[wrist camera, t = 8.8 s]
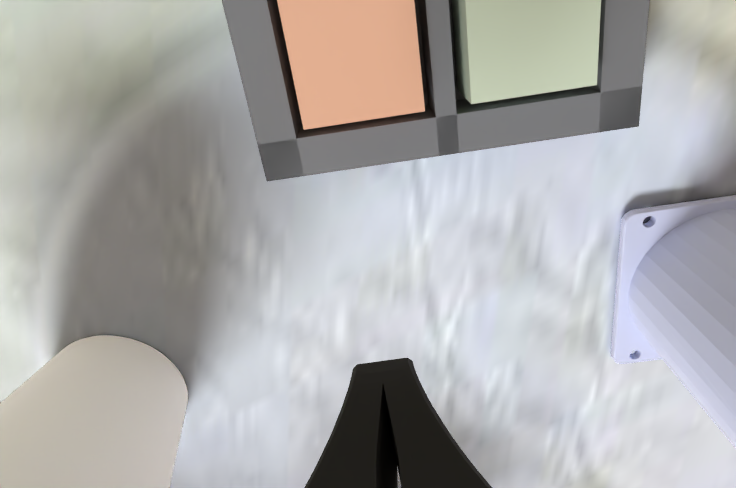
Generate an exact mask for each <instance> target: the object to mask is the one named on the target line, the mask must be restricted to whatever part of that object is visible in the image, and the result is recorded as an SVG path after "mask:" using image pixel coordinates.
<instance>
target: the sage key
mask: <svg viewBox="0 0 736 488" xmlns="http://www.w3.org/2000/svg"><path fill="white" fill-rule="evenodd" d="M452 10H453V25H454V40H455V54H456V69H457V84H458V91H459V92H460V93H461V94H462V95H463V96H464V97H465V98H466V99H467V100H468V101H469V102H470V103H471V104H476V103H483V102H489V101H496V100H502V99H509V98H515V97H522V96H528V95H535V94H542V93H548V92H555V91H561V90H568V89H574V88H581V87H587V86H594V85H597V73H598V53H599V33H600V12H601V0H452Z"/></svg>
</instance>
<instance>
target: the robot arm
mask: <svg viewBox="0 0 736 488" xmlns="http://www.w3.org/2000/svg"><path fill="white" fill-rule="evenodd" d="M648 216H651V218H650V220H649V221H648V222H647V223H645V224H643V221H644V219H645V218H646V217H648ZM633 351H636V352H635V353H633V354H630V353H632V352H633ZM611 357H612V358H613V359H614V361H615V362H616V363H619V364H627V363H635V362H643V361H650V360H658V359H663V360H664V362H665V363H666V364H667V365H668V367H669V368H670V369H671V370H672V371H673V373H674V374H675V375H676V376H677V378H678V379H679V380H680V381H681V382H682V384H683V385H684V386H685V387H686V389H687V390H688V391H689V392H690V393H691V395H692V396H693V397H694V398H695V400H696V401H697V402H698V403H699V404H700V406H701V407H702V408H703V409H704V411H705V412H706V413H707V414H708V415H709V417H710V418H711V419H712V420H713V422H714V423H715V424H716V425H717V426H718V428H719V429H720V430H721V431H722V433H723V434H724V435H725V436H726V437H727V439H728V440H729V441H730V442H731V444H732V445H733V446H734V447H735V448H736V195H733V196H725V197H718V198H711V199H704V200H697V201H690V202H683V203H675V204H668V205H661V206H654V207H647V208H640V209H633V210H630V211H628V212H627V213H625V215H624V216H623V217H622V220H621V228H620V240H619V253H618V266H617V279H616V291H615V304H614V317H613V330H612V342H611ZM397 466H398V471H399V476H400V481H401V488H492V487H491V486H490V485H489V484H488V482H487V481H486V480H485V479H484V478H483V476H482V475H481V474H480V473H479V472H478V470H477V469H476V468H475V467H474V466H473V464H472V463H471V462H470V460H469V459H468V458H467V457H466V455H465V454H464V453H463V451H462V450H461V449H460V447H459V446H458V444H457V443H456V442H455V440H454V439H453V437H452V436H451V434H450V433H449V431H448V430H447V428H446V427H445V425H444V424H443V422H442V421H441V419H440V417H439V416H438V414H437V413H436V411H435V409H434V408H433V406H432V404H431V403H430V401H429V399H428V397H427V395H426V393H425V391H424V389H423V387H422V385H421V383H420V381H419V379H418V376H417V374H416V371H415V369H414V365H413V361H412V360H410V359H409V358H402V359H394V360H387V361H380V362H372V363H365V364H358V365H356V366H355V367H354V369H353V372H352V377H351V381H350V384H349V388H348V391H347V394H346V397H345V400H344V403H343V406H342V409H341V411H340V414H339V416H338V419H337V421H336V424H335V426H334V429H333V431H332V434H331V436H330V438H329V440H328V442H327V444H326V447H325V449H324V451H323V453H322V455H321V457H320V459H319V461H318V463H317V465H316V467H315V469H314V471H313V473H312V475H311V477H310V479H309V480H308V482H307V484H306V486H305V488H398V480H397Z"/></svg>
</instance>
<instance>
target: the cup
mask: <svg viewBox="0 0 736 488" xmlns="http://www.w3.org/2000/svg"><path fill="white" fill-rule="evenodd" d="M187 403H188V391H187V386H186V383H185V381H184V378H183V376H182V375H181V373H180V371H179V370H178V369H177V367H176V366H175V365H174V364H173V363H172V362H171V361H170V360H169V359H168V358H167V357H166V356H164V355H163V354H162V353H160V352H159V351H157V350H156V349H154V348H152V347H151V346H148V345H146V344H144V343H142V342H139V341H136V340H133V339H130V338H125V337H120V336H111V335H100V336H92V337H87V338H83V339H80V340H77V341H75V342H73V343H71V344H69V345H68V346H66V347H65V348H64V349H63V350H61V351H60V352H59V353H58V354H57V355H56V356H54V357H53V358H52V359H51V360H50V361H49V362H47V363H46V364H45V365H44V366H43V367H42V368H41V369H39V370H38V371H37V372H36V373H35V374H34V375H32V376H31V377H30V378H29V379H28V380H27V381H25V382H24V383H23V384H22V385H21V386H20V387H18V388H17V389H16V390H15V391H14V392H13V393H12V394H10V395H9V396H8V397H7V398H6V399H5V400H3V401H2V402H1V403H0V488H170V484H171V479H172V474H173V470H174V465H175V460H176V455H177V451H178V446H179V441H180V436H181V432H182V427H183V422H184V418H185V413H186V408H187Z"/></svg>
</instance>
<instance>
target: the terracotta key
mask: <svg viewBox="0 0 736 488" xmlns="http://www.w3.org/2000/svg"><path fill="white" fill-rule="evenodd" d="M277 2H278V7H279V12H280V17H281V22H282V27H283V32H284V36H285V41H286V46H287V51H288V56H289V61H290V66H291V71H292V75H293V80H294V85H295V90H296V95H297V100H298V105H299V109H300V114H301V119H302V124H303V129H304V130H306V129H312V128H319V127H326V126H332V125H339V124H345V123H352V122H358V121H365V120H371V119H378V118H385V117H391V116H398V115H404V114H411V113H417V112H424V111H425V105H424V95H423V85H422V74H421V64H420V54H419V44H418V33H417V23H416V13H415V3H414V0H277Z"/></svg>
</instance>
